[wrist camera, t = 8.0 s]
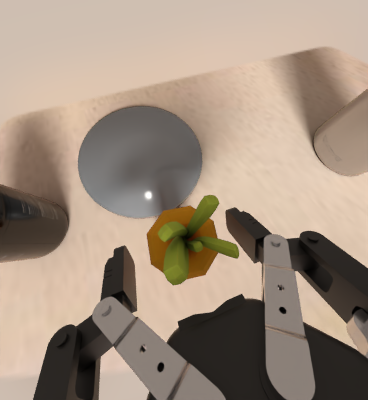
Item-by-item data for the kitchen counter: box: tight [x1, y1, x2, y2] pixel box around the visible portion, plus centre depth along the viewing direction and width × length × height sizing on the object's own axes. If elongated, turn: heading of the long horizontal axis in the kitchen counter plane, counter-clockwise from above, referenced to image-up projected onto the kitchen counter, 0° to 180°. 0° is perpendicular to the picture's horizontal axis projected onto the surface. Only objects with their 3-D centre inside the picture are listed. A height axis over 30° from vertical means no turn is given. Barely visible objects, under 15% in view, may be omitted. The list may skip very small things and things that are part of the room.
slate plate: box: [78, 106, 202, 219], centre depth 23 cm, size 16×16×1 cm
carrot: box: [147, 195, 239, 285], centre depth 14 cm, size 5×5×15 cm
